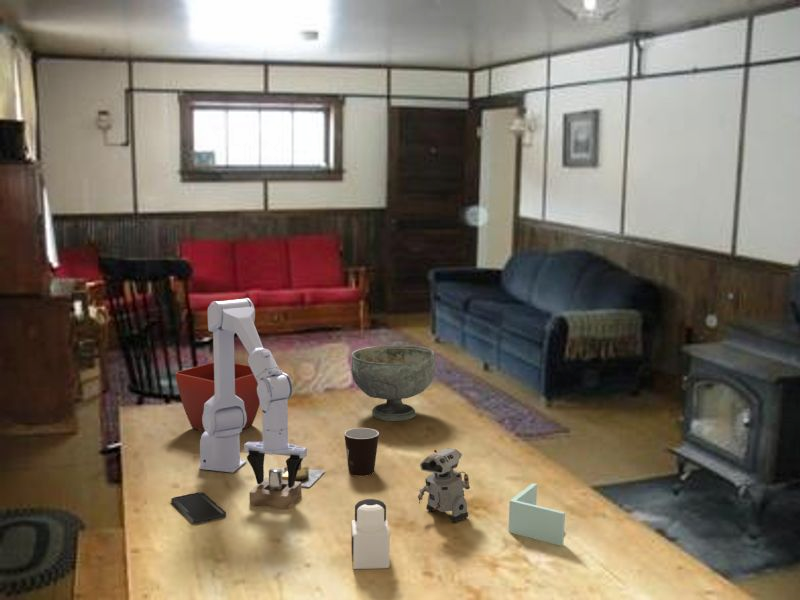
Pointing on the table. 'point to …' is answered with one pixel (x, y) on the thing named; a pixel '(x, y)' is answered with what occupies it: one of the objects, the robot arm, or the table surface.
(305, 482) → the plate
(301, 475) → the ring nut
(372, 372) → the decorative bowl
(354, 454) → the coffee mug
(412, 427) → the table surface
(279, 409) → the robot arm
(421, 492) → the figurine
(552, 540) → the l-shaped corner panel
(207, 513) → the phone
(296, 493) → the socket block
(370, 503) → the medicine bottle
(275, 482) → the pin
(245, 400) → the plant pot
